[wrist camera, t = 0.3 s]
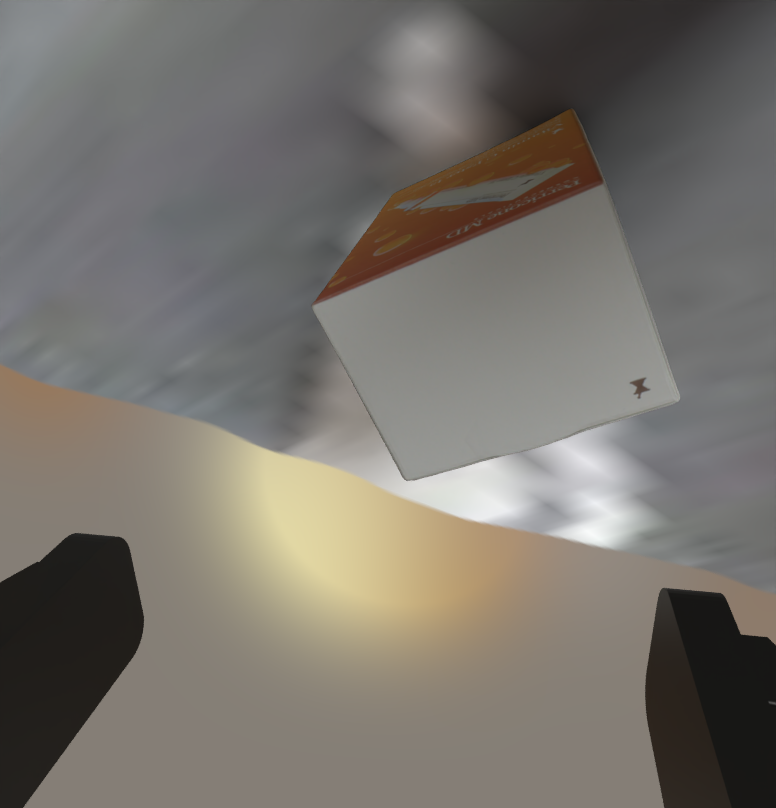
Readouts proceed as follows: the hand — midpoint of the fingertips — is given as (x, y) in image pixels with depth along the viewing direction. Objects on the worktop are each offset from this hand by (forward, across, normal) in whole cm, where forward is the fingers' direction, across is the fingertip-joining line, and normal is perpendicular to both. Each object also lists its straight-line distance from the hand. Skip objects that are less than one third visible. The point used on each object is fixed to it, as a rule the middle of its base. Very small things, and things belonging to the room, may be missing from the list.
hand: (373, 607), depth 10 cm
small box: (+22, -1, -3) cm, 22 cm away
